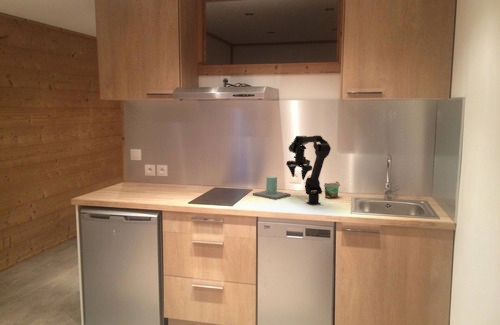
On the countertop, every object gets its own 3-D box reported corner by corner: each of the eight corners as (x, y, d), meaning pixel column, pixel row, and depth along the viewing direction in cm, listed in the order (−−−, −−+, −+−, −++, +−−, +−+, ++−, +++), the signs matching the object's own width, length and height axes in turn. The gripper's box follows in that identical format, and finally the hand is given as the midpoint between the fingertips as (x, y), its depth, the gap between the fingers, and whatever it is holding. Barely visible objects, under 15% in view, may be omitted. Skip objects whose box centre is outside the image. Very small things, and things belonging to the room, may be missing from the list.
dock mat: (290, 195, 256) (290, 193, 255) (275, 199, 244) (275, 197, 244) (267, 191, 269) (267, 189, 269) (252, 195, 257) (252, 192, 257)
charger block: (272, 194, 253) (272, 178, 251) (266, 193, 256) (266, 177, 255) (276, 193, 256) (277, 177, 255) (271, 192, 260) (271, 176, 258)
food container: (330, 199, 245) (331, 184, 244) (323, 198, 250) (324, 183, 249) (343, 197, 252) (343, 182, 251) (336, 195, 257) (336, 181, 256)
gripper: (319, 156, 244) (317, 179, 247) (298, 151, 259) (296, 173, 262) (306, 158, 237) (305, 182, 241) (286, 152, 252) (285, 175, 255)
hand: (298, 178), depth 250 cm, fingers open, 9 cm apart
